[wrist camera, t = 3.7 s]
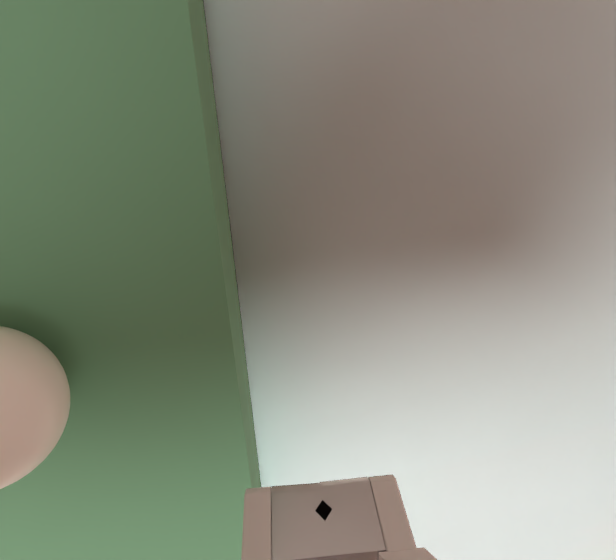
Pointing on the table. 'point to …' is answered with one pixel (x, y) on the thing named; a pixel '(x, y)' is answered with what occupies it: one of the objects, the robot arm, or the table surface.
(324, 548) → the robot arm
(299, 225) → the table surface
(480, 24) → the table surface
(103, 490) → the putting deck
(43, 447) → the ball
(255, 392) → the table surface
